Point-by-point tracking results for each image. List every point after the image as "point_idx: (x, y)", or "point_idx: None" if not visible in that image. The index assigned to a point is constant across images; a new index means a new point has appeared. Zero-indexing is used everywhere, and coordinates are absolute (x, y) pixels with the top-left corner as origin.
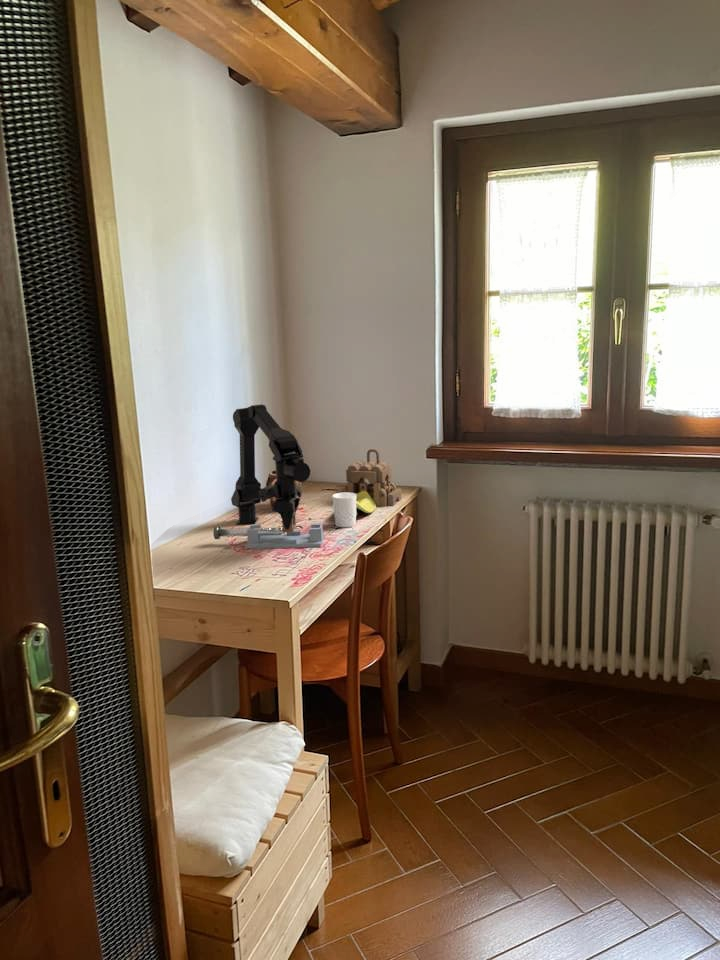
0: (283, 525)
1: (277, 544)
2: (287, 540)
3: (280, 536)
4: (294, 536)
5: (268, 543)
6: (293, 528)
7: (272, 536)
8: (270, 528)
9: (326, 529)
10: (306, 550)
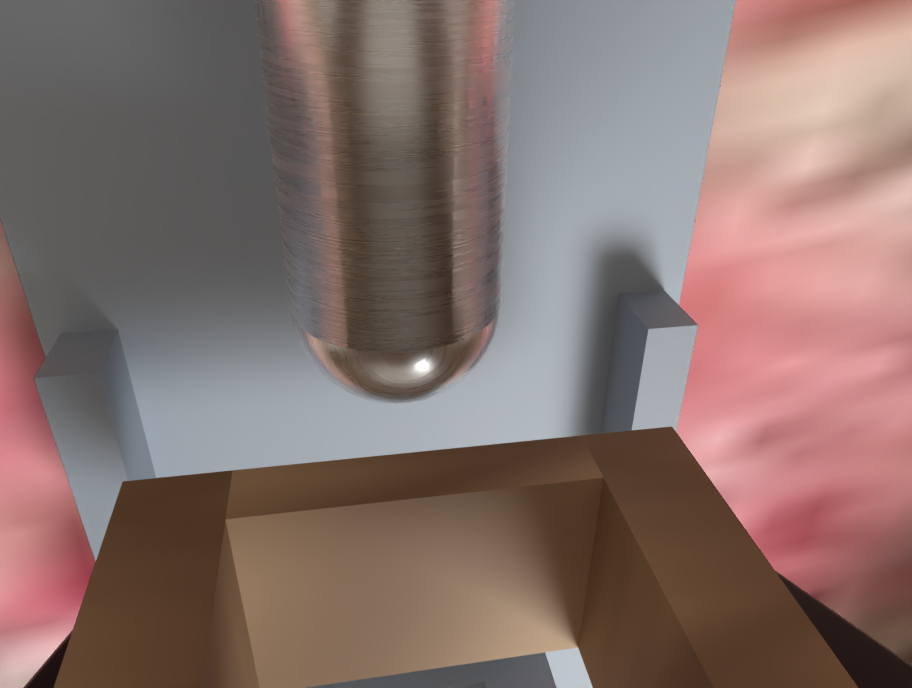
0: (79, 668)
1: (18, 248)
2: (68, 476)
3: (583, 188)
4: (543, 429)
5: (46, 9)
6: (303, 677)
7: (611, 1)
8: (349, 87)
9: (864, 628)
10: (4, 652)
